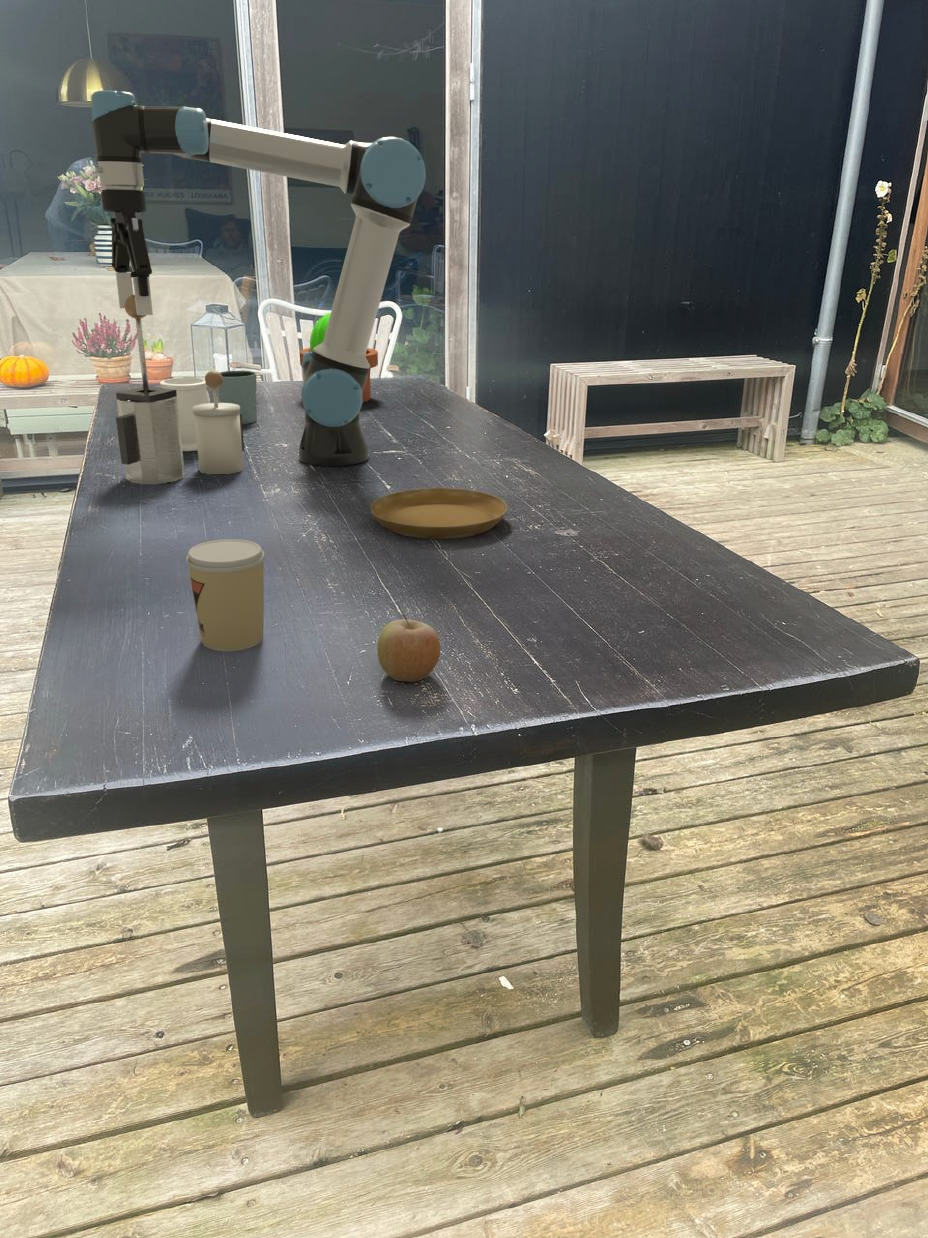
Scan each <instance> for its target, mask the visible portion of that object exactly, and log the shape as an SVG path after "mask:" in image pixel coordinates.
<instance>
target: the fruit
mask: <svg viewBox="0 0 928 1238" xmlns="http://www.w3.org/2000/svg"><path fill="white" fill-rule="evenodd" d="M401 616H402V619H395V620H393V621H390V622H388V623H387V624H386V625H385V626H384V627H383V629H382V630H381V632H380V634H379V636H378V640H377V646H376V647H377V648H376V649H377V650H376V651H377V658H378V662H379V665H380V667H381V668H382V670H383V672H385V674H386V675H387V676H389V677H390V678H391V679H393V680H395V681H400V682H411V683H413V682H418V681H422V680H423V679H424V678H426V677H427V676H429V674H431V673H432V672H433V670H434V669H435V668H436V666H437V664H438V662H439V659H440V656H441V641H440V638H439V635H438V633H437V632H436V630H435V629H434V628H433V627H431V626H430V625H429V624H427V623H425V622H422V621H418V620H413V619H407V617H406V615H405V613H404V612H403V613H401Z"/></svg>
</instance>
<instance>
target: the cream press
mask: <svg viewBox="0 0 928 1238" xmlns="http://www.w3.org/2000/svg"><path fill="white" fill-rule="evenodd" d="M204 379H205V383H206V385H207V387H208V388H210V389H212V394H213V395H212V396H213V402H210V403H207V404H200V405H196V406H194V407H193V414H194V418H195V428H196V439H197V449H198V451H197V458H198V468H199V469H198V470H199V473H201V472H203V473H202V474H204V473H206V474H205V475H210V474H227V475H232V474H231V473H234V474H237V473H236V472H238V473H240V472H242V471H244V457H243V456H244V455H243V452H245V442H244V431H243V430H244V429H243V424H242V414H241V413H240V406H239V405H237V404H232V403H220V402H219V397H218V388H219V387H221V385H222V384H223V377H222V375H221V374H220V373H219V371H218V370H210V371H208V372H207V373H206V374H205V377H204Z"/></svg>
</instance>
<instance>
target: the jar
mask: <svg viewBox="0 0 928 1238" xmlns="http://www.w3.org/2000/svg"><path fill="white" fill-rule="evenodd" d="M207 387H208V386H207V385H206V383H205V378H200V377H199V378H198V377H176V378H169V379H164V380H162V381H160V388H163V389H173V390H176V393H177V401H178V411H179V421H180V431H181V441H182V451H183V452H198V449H197V439H196V428H195V418H194V414H193V407H194V406H196V405H200V404H207V403H211V400H210V395H209V392H208V389H207Z"/></svg>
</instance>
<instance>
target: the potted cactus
mask: <svg viewBox="0 0 928 1238" xmlns="http://www.w3.org/2000/svg"><path fill="white" fill-rule="evenodd" d="M330 314H331V312H329V310H328V311H327V312H324V314H323V315H321V317H319V318H318V320H317V322H316V323H315V324H314V326H313V327H312V329H311V331H310V332H309V334H310V336H309V337H310V339H309V340H308V342H309V347H307V348H304V349H301V350H300V351H299V365H300V366H301V367H302V363H303V355H304V353H306V352H313V348H314V347H316V346H318V345H319V344H321V343H322V342H323V341H324V337H325V333H326V329H327V326H328V322H329V318H330ZM369 343H370V340H369ZM365 355H366V359H367V361H368V363H369V364H370V369H369V372H368V376H367V379H366V383H365V387H364V390H363V394H362V395H363V399H362V400H363V403H367V402H368V401H370V399H371V369H372V368H376V367H377V366H378V365H379V358H378V357H379V352H378V351H377V350H376V349H374V348H369V347H367V351H366V354H365ZM363 403H362V404H363Z"/></svg>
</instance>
